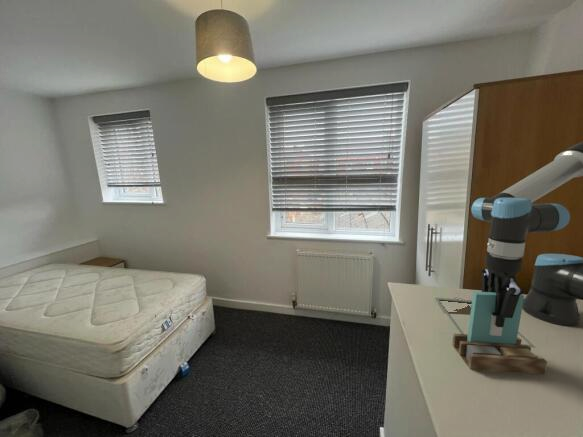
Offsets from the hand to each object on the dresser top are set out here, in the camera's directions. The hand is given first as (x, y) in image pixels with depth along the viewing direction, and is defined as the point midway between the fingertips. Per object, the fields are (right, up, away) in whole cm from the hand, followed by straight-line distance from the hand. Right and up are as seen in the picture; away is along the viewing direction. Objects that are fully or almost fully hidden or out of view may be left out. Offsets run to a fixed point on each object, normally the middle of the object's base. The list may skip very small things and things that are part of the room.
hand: (492, 332), depth 71 cm
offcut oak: (+4, -7, -3) cm, 9 cm away
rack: (0, -8, -1) cm, 8 cm away
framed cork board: (+9, -5, +19) cm, 22 cm away
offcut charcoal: (-5, -7, -2) cm, 9 cm away
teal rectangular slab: (0, -6, +1) cm, 6 cm away
